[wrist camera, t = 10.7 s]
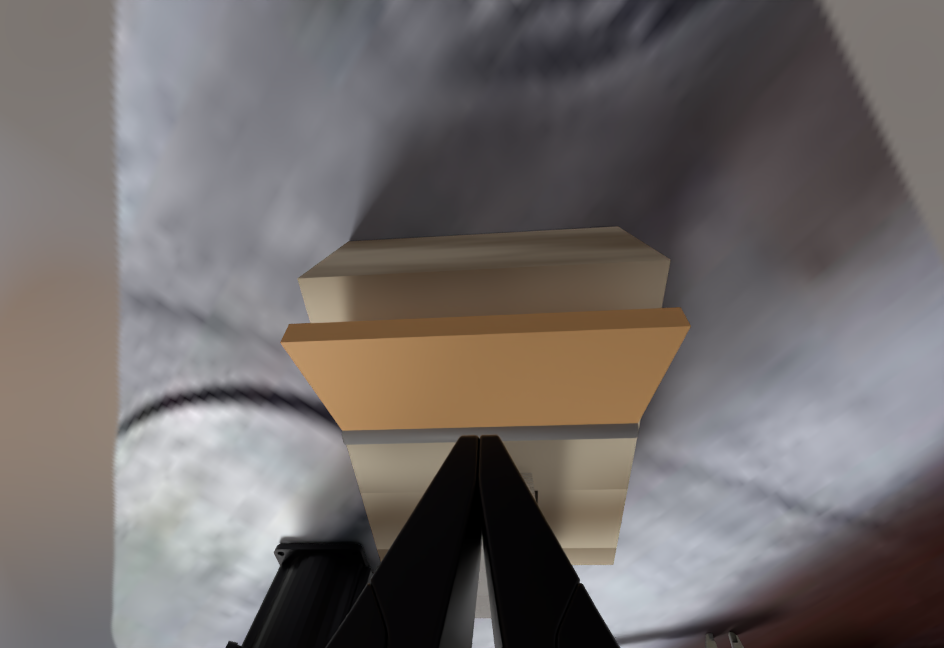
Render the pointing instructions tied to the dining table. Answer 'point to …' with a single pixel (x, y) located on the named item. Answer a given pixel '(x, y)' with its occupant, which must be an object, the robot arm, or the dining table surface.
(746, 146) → the dining table surface
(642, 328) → the tan wooden plank
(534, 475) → the hitch block
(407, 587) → the robot arm
